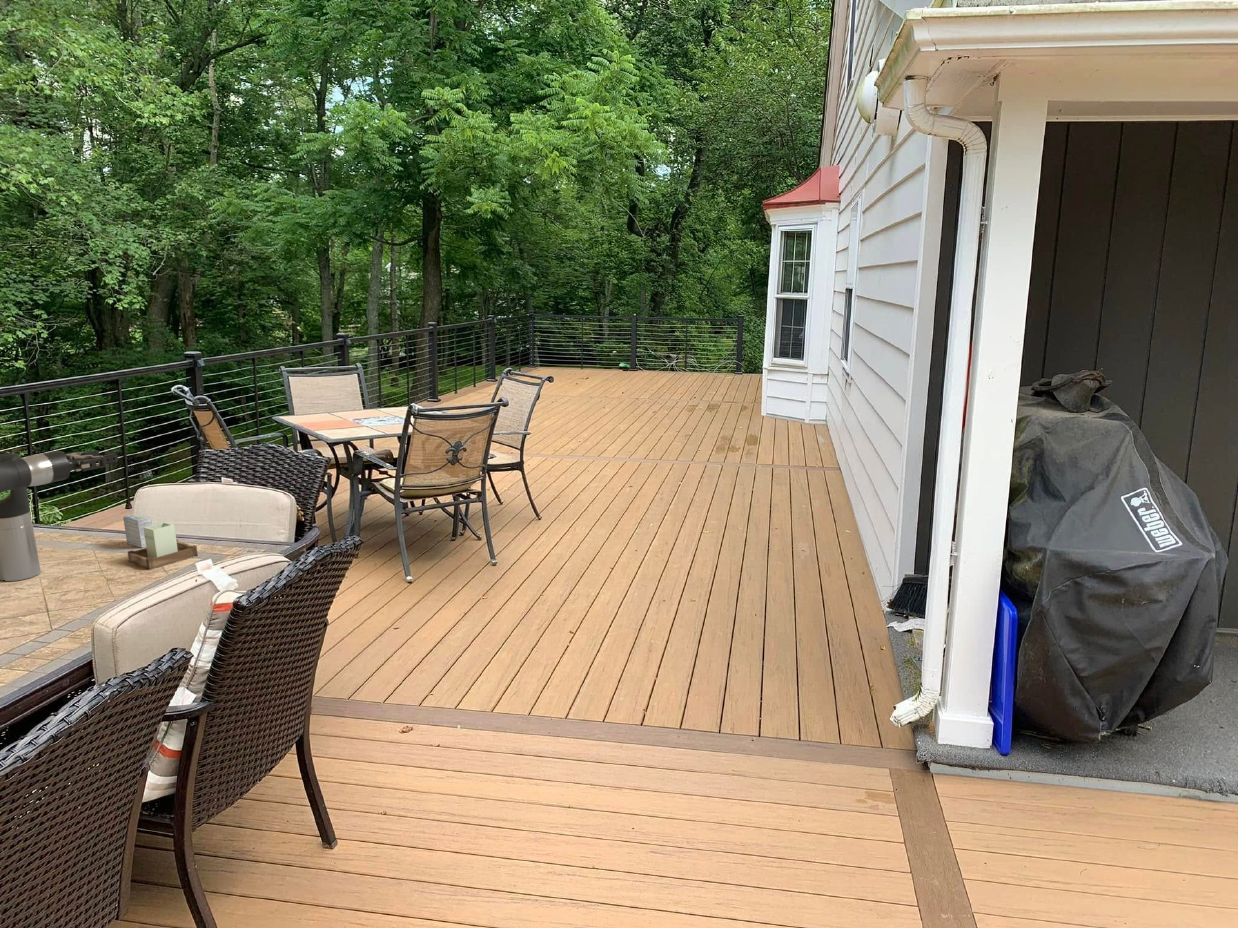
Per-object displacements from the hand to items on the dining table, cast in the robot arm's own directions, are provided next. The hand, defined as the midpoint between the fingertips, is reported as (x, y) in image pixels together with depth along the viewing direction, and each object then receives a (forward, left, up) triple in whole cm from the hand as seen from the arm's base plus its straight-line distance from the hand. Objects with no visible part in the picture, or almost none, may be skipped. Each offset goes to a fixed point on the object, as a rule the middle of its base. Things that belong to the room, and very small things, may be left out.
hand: (107, 455), depth 235 cm
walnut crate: (-1, +11, -32) cm, 34 cm away
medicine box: (-20, +14, -32) cm, 41 cm away
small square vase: (-1, +11, -31) cm, 33 cm away
